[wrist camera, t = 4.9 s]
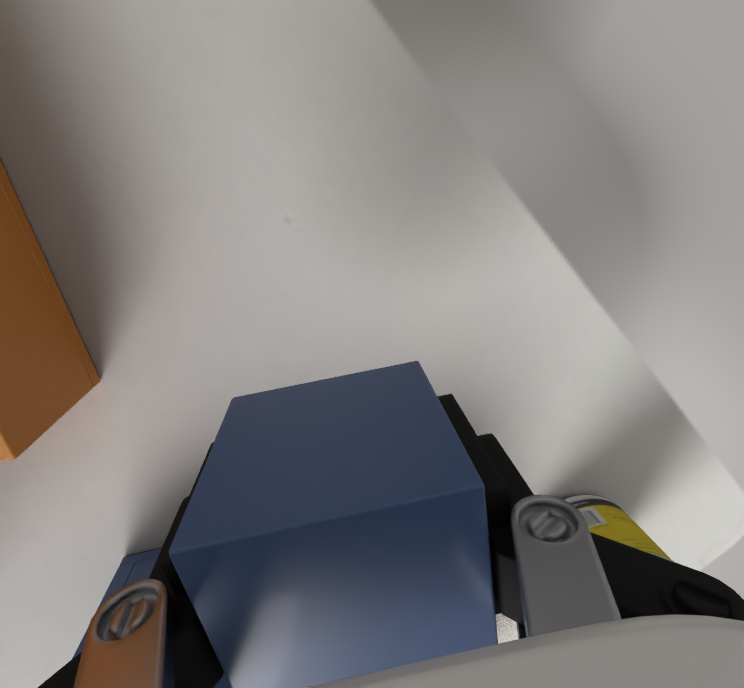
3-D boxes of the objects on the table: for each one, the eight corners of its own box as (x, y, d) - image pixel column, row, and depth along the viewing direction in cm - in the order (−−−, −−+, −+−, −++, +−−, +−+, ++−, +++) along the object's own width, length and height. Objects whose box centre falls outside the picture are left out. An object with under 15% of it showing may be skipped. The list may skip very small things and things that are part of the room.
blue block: (418, 359, 11) (486, 484, 7) (438, 504, 13) (501, 682, 8) (231, 397, 11) (165, 553, 6) (278, 538, 13) (254, 740, 8)
